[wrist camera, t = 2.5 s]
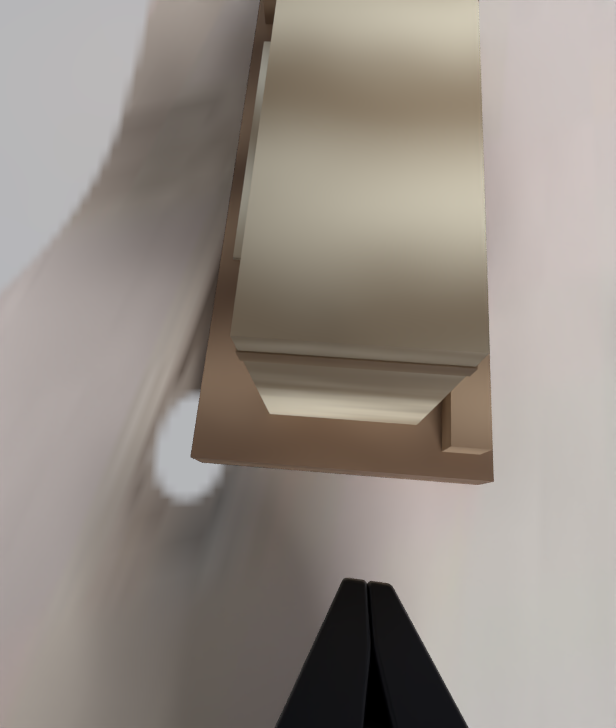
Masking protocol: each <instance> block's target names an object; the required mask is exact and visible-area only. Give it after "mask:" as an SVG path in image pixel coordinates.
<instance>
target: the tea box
mask: <svg viewBox="0 0 616 728" xmlns="http://www.w3.org/2000/svg"><path fill="white" fill-rule="evenodd" d="M230 337H231V339H232V341H233V343H234V345H235V346H236V351H235V352H236V354H237V356H238V358H239V360H240V361H243V362H244V364H245V366H246V368H247V370H248V372H249V374H250V376H251V378H252V380H253V382H254V384H255V386H256V388H257V390H258V392H259V394H260V396H261V398H262V400H263V402H264V404H265V405H266V407H267V409H268V411H269V413H270V414H278V415H291V416H305V417H318V418H331V419H345V420H358V421H371V422H385V423H398V424H411V425H417V424H418V423H419V422H420V421H421V420H422V419H423V418H424V417H425V416H426V415H427V414H428V413H429V412H430V411H431V410H432V409H433V408H434V407H436V406H437V405H438V404H439V403H440V402H441V401H442V400H443V399H444V398H445V397H446V396H447V395H448V394H449V393H450V392H451V391H452V390H453V389H454V388H455V387H456V386H457V385H458V384H459V383H460V382H461V381H462V380H463V379H464V378H465V377H466V376H469V377H470V376H471V375H472V374H473V373H474V372H475V371H476V370H477V369H478V364H479V363H480V362H481V361H482V360H483V359H484V358H485V357H486V356H487V355H488V354H489V353H490V345H489V314H488V282H487V251H486V220H485V189H484V158H483V127H482V96H481V65H480V33H479V2H478V0H276V8H275V15H274V22H273V29H272V37H271V44H270V51H269V58H268V65H267V73H266V80H265V87H264V94H263V101H262V109H261V116H260V123H259V130H258V137H257V145H256V152H255V159H254V166H253V174H252V181H251V188H250V195H249V202H248V210H247V217H246V224H245V231H244V238H243V246H242V253H241V260H240V267H239V274H238V282H237V289H236V296H235V303H234V311H233V318H232V325H231V332H230Z"/></svg>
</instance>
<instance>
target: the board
mask: <svg viewBox="0 0 616 728" xmlns="http://www.w3.org/2000/svg"><path fill="white" fill-rule="evenodd" d="M478 2H479V0H478ZM275 8H276V0H260V5H259V11H258V18H257V24H256V31H255V37H254V44H253V50H252V57H251V64H250V70H249V77H248V83H247V90H246V96H245V103H244V109H243V116H242V123H241V129H240V136H239V142H238V149H237V155H236V162H235V168H234V175H233V182H232V188H231V195H230V201H229V208H228V214H227V221H226V227H225V234H224V241H223V247H222V254H221V260H220V267H219V273H218V280H217V286H216V293H215V300H214V306H213V313H212V319H211V326H210V332H209V339H208V345H207V352H206V359H205V365H204V372H203V378H202V385H201V391H200V398H199V405H198V411H197V418H196V424H195V431H194V438H193V444H192V450H191V458H193V459H196V460H198V461H200V462H202V463H214V464H226V465H239V466H251V467H263V468H276V469H288V470H301V471H313V472H325V473H338V474H350V475H362V476H375V477H387V478H400V479H412V480H424V481H437V482H449V483H461V484H474V485H480V484H484V483H489V482H494V477H493V445H492V414H491V382H490V353H489V354H488V355H487V356H486V357H485V358H484V359H483V360H482V361H481V362H480V363H479V364H478V369H477V370H476V371H475V372H474V373H473V374H472V375H471V376H470V377H469V376H466V377H465V378H464V379H463V380H462V381H461V382H460V383H459V384H458V385H457V386H456V387H455V388H454V389H453V390H452V391H451V392H450V393H449V394H448V395H447V396H446V397H445V398H444V399H443V400H442V401H441V402H440V403H439V404H438V405H437V406H436V407H434V408H433V409H432V410H431V411H430V412H429V413H428V414H427V415H426V416H425V417H424V418H423V419H422V420H421V421H420V422H419V423H418V424H417V425H411V424H398V423H385V422H371V421H358V420H345V419H331V418H318V417H305V416H291V415H278V414H270V413H269V411H268V409H267V407H266V405H265V404H264V402H263V400H262V398H261V396H260V394H259V392H258V390H257V388H256V386H255V384H254V382H253V380H252V378H251V376H250V374H249V372H248V370H247V368H246V366H245V364H244V362H243V361H240V360H239V358H238V356H237V354H236V352H235V351H236V346H235V345H234V343H233V341H232V339H231V337H230V332H231V325H232V318H233V311H234V303H235V296H236V289H237V282H238V274H239V267H240V260H241V253H242V246H243V238H244V231H245V224H246V217H247V210H248V202H249V195H250V188H251V181H252V174H253V166H254V159H255V152H256V145H257V137H258V130H259V123H260V116H261V109H262V101H263V94H264V87H265V80H266V73H267V65H268V58H269V51H270V44H271V37H272V29H273V22H274V15H275Z"/></svg>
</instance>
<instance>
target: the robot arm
mask: <svg viewBox="0 0 616 728" xmlns="http://www.w3.org/2000/svg"><path fill="white" fill-rule="evenodd" d="M275 728H468V726H467V724H466V722H465V720H464V718H463V717H462V715H461V713H460V711H459V709H458V707H457V705H456V703H455V702H454V700H453V698H452V696H451V694H450V692H449V690H448V689H447V687H446V685H445V683H444V681H443V679H442V677H441V676H440V674H439V672H438V670H437V668H436V666H435V664H434V663H433V661H432V659H431V657H430V655H429V653H428V651H427V650H426V648H425V646H424V644H423V642H422V640H421V638H420V636H419V635H418V633H417V631H416V629H415V627H414V625H413V623H412V622H411V620H410V618H409V616H408V614H407V612H406V610H405V609H404V607H403V605H402V603H401V601H400V599H399V597H398V596H397V594H396V592H395V590H394V588H393V587H392V586H391V585H390V584H388V583H382V582H375V581H370V582H368V583H366V581H364V580H360V579H353V578H344V579H343V580H342V582H341V584H340V587H339V589H338V591H337V593H336V595H335V597H334V600H333V602H332V604H331V606H330V608H329V611H328V613H327V615H326V617H325V619H324V622H323V624H322V626H321V628H320V630H319V632H318V635H317V637H316V639H315V641H314V643H313V646H312V648H311V650H310V652H309V654H308V656H307V659H306V661H305V663H304V665H303V667H302V670H301V672H300V674H299V676H298V678H297V680H296V683H295V685H294V687H293V689H292V691H291V694H290V696H289V698H288V700H287V702H286V704H285V707H284V709H283V711H282V713H281V715H280V718H279V720H278V722H277V724H276V726H275Z"/></svg>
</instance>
